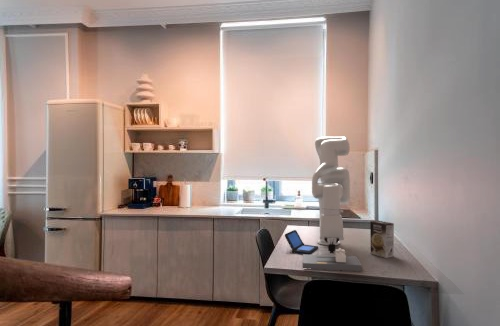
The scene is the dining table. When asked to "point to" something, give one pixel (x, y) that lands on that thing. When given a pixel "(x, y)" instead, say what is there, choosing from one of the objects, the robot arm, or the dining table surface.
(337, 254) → the white small block
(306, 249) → the handheld game console
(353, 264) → the switch panel
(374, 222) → the coffee box
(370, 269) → the dining table surface
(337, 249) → the inner tab
